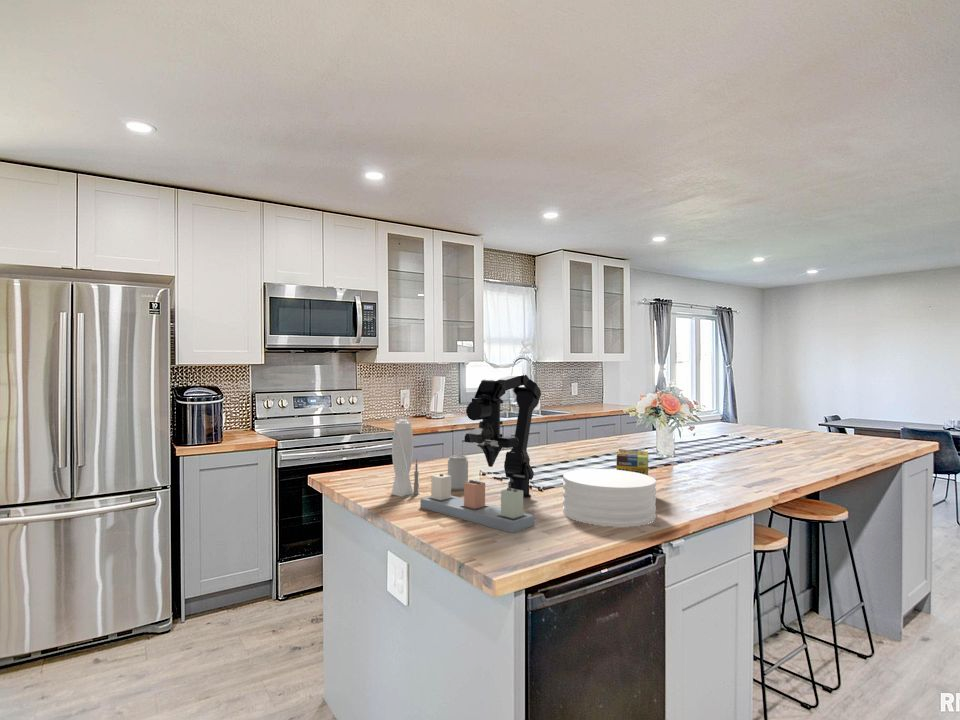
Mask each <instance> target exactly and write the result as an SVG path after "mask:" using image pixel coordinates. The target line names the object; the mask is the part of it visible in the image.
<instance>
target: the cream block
mask: <svg viewBox="0 0 960 720" xmlns="http://www.w3.org/2000/svg"><path fill="white" fill-rule="evenodd" d="M430 478H431V488H430V489H431V490H430V496H431V498H434V499H438V500H444V499H448V498H451V496H452V490H451V476H449V475H448V474H444V473H439V474H434V475H431V477H430Z"/></svg>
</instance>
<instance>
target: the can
mask: <svg viewBox="0 0 960 720" xmlns="http://www.w3.org/2000/svg"><path fill="white" fill-rule="evenodd" d="M447 475H449V476H451V491H464V483H466V482H469V460H468V459H467V456H466V455H463V454H462V455H461V454H456V455H450V456H449V458H448V459H447Z"/></svg>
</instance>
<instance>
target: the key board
mask: <svg viewBox="0 0 960 720" xmlns="http://www.w3.org/2000/svg"><path fill="white" fill-rule="evenodd" d="M419 506H420V508H421V509H424V510H428V511H432V512H434V513H439V514H441V515H442V514H443V515H446V516H450V517H454V518H457V519H460V520H464V521H468V522H472V523H475V524H478V525H482V526H486V527H490V528H492V529H496V530H499V531H505V532H507V533H511V534H513V533H516V532H519V531H523V530H526V529H528V528H531V527H533V526H535V515H533V514H530V513H525V512H523V516H519V517H516V518H509V517H505V516H501V506H496V505H492V504H489V503H485V506H483V507H480V508H476V509H474V508H470V507H466V506H464V497H459V496H455V495H451V498H448V499H444V500H438V499H434V498H431V495H430V496H428V497H427V496H426V497H423V498H420V505H419Z"/></svg>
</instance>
